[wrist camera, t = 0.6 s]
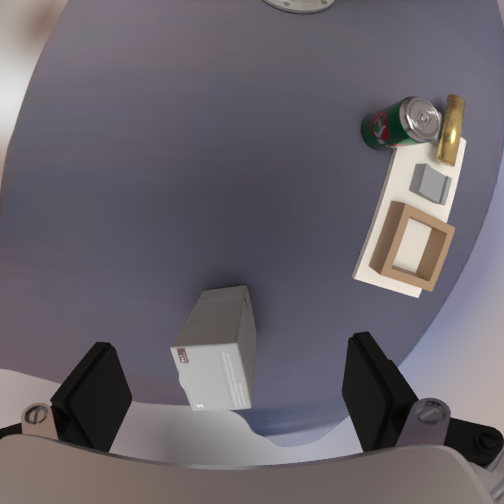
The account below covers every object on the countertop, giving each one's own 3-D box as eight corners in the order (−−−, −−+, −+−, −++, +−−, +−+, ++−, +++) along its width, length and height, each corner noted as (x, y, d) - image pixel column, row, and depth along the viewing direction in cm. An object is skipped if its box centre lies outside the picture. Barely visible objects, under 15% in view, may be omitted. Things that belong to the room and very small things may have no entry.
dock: (403, 105, 33) (422, 97, 28) (461, 141, 34) (482, 139, 29) (351, 276, 39) (364, 289, 34) (414, 295, 40) (431, 308, 35)
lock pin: (443, 96, 29) (454, 92, 26) (457, 106, 29) (468, 103, 26) (432, 158, 31) (444, 157, 29) (446, 166, 31) (458, 166, 29)
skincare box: (257, 334, 41) (261, 411, 25) (209, 340, 41) (191, 416, 26) (247, 280, 39) (246, 343, 23) (195, 287, 39) (166, 351, 24)
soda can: (398, 129, 34) (448, 116, 22) (383, 157, 35) (432, 152, 23) (369, 107, 33) (413, 84, 21) (354, 136, 34) (396, 120, 22)
